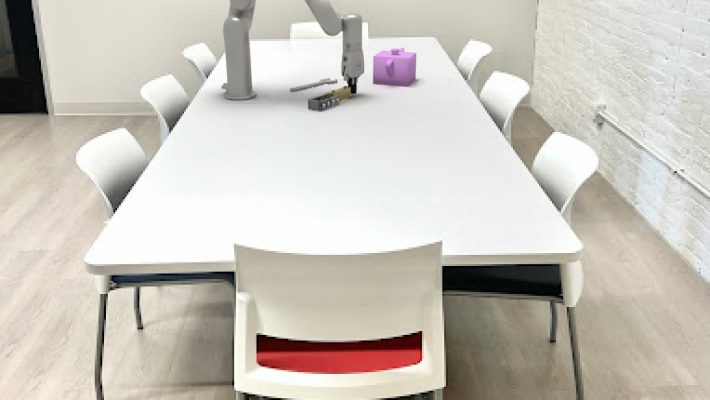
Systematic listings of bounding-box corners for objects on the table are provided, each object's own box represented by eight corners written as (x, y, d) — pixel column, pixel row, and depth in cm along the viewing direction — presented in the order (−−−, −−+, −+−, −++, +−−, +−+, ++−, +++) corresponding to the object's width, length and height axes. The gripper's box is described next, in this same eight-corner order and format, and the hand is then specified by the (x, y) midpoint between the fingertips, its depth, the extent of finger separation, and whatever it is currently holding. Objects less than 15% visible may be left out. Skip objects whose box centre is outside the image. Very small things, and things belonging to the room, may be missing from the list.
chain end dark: (306, 108, 280) (306, 99, 278) (316, 105, 284) (316, 96, 283) (322, 111, 276) (321, 102, 275) (331, 107, 281) (331, 98, 279)
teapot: (419, 76, 329) (420, 44, 324) (405, 89, 307) (405, 55, 302) (386, 73, 334) (386, 42, 328) (369, 86, 312) (369, 52, 306)
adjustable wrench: (293, 93, 302) (292, 89, 302) (283, 91, 307) (283, 86, 306) (339, 83, 318) (339, 79, 317) (330, 81, 322) (329, 76, 322)
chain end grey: (317, 104, 285) (317, 95, 284) (325, 101, 289) (325, 92, 288) (332, 107, 281) (332, 98, 280) (340, 104, 285) (340, 95, 284)
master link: (327, 104, 286) (327, 91, 284) (345, 97, 296) (345, 84, 294) (332, 105, 285) (332, 92, 283) (350, 98, 294) (350, 85, 293)
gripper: (349, 50, 282) (349, 98, 289) (370, 44, 294) (370, 90, 301) (333, 48, 286) (333, 96, 293) (354, 42, 298) (354, 88, 305)
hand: (352, 93), depth 297 cm, fingers closed
